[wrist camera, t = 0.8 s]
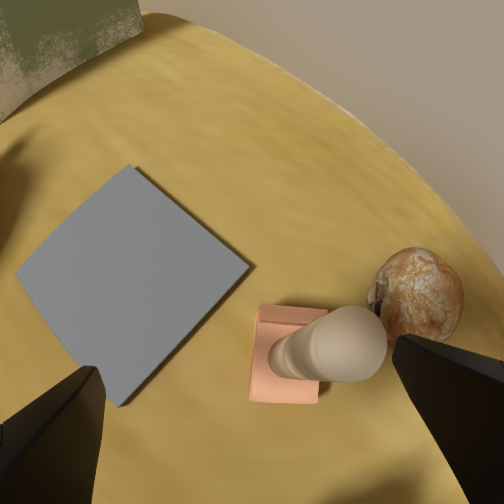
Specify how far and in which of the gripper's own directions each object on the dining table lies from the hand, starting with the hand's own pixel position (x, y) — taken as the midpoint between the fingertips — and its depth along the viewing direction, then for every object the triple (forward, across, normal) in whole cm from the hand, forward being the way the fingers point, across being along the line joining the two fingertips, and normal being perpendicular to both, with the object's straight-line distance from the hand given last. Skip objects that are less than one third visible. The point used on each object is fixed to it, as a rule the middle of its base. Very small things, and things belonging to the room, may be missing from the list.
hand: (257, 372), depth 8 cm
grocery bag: (+42, +28, -28) cm, 58 cm away
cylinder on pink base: (+13, -4, +9) cm, 16 cm away
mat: (+18, +9, +3) cm, 20 cm away
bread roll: (+15, -18, +7) cm, 24 cm away
